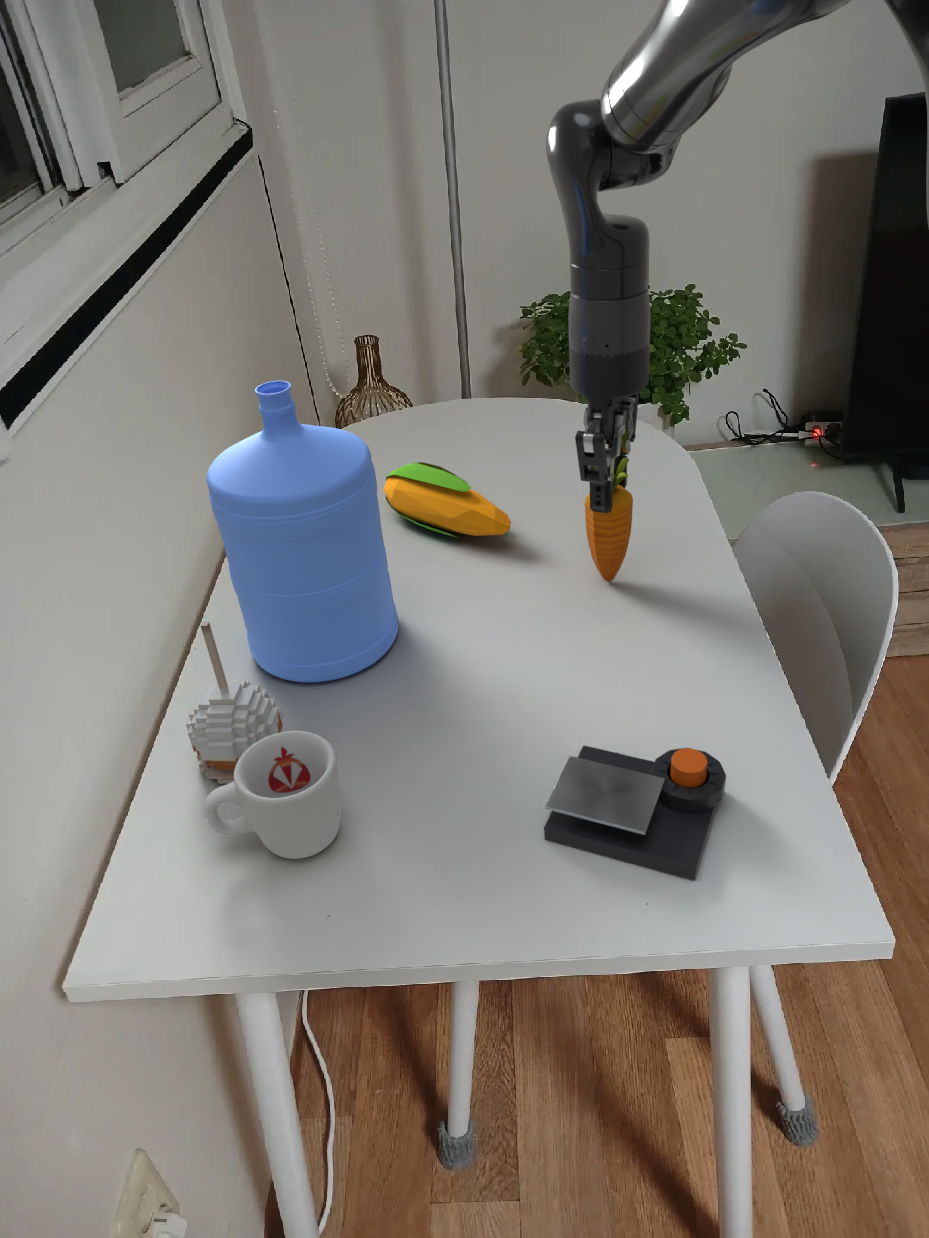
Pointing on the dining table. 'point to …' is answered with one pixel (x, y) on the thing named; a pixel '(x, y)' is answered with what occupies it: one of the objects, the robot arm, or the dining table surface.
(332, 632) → the water jug
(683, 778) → the button
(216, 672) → the caramel apple
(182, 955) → the dining table surface
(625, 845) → the scale
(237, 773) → the cup
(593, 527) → the carrot
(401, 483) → the corn
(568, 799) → the plate
